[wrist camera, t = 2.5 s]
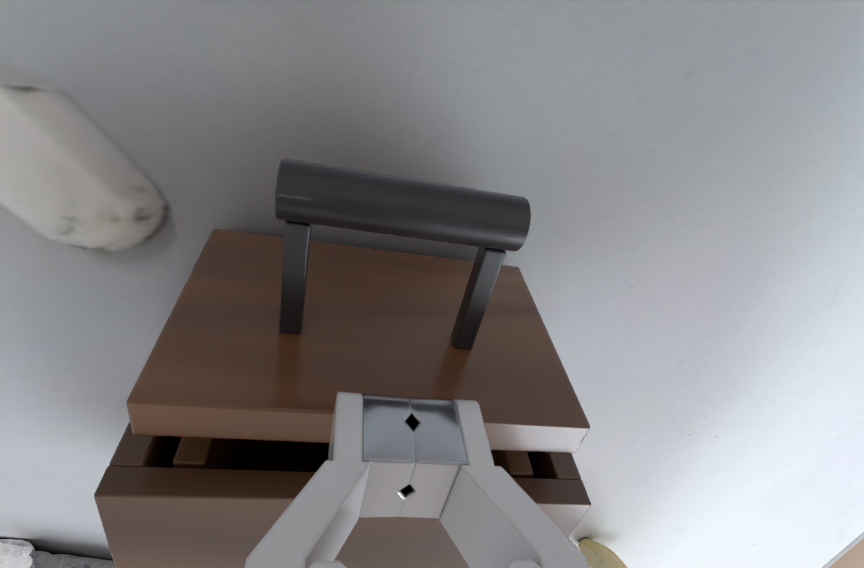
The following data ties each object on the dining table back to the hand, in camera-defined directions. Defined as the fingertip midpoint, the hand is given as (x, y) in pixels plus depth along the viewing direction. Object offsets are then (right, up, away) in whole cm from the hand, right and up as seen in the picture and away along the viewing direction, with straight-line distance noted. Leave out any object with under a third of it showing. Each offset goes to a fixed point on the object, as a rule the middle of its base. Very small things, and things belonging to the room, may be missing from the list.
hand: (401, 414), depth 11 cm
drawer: (-2, +1, +10) cm, 10 cm away
